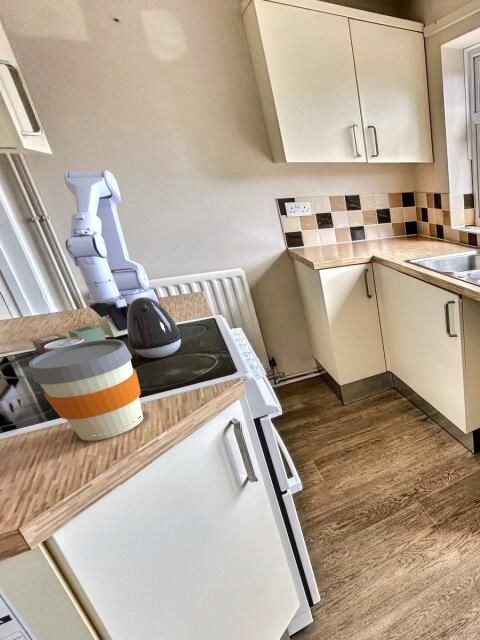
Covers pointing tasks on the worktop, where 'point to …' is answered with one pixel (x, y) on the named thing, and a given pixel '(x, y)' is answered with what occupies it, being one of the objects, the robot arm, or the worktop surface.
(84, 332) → the block
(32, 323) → the worktop surface
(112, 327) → the block
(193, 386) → the worktop surface
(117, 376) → the reusable coffee cup
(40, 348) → the block
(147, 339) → the black egg shaped device
